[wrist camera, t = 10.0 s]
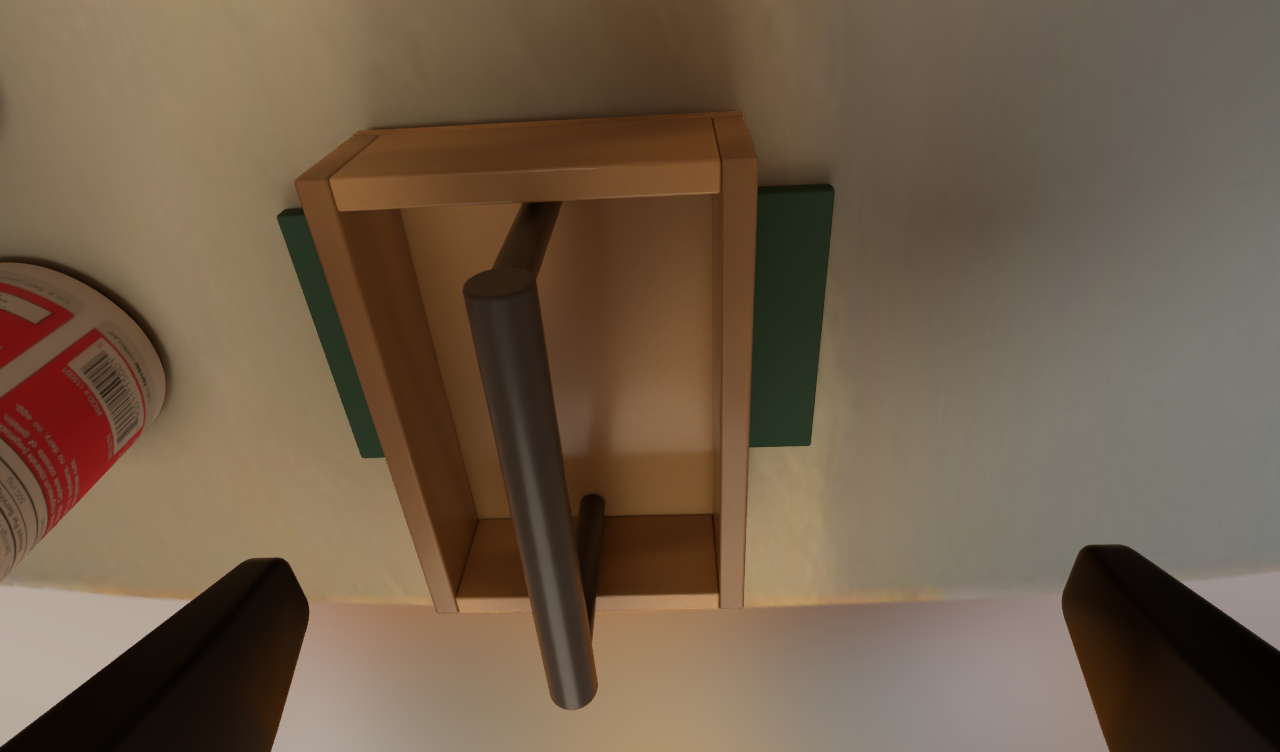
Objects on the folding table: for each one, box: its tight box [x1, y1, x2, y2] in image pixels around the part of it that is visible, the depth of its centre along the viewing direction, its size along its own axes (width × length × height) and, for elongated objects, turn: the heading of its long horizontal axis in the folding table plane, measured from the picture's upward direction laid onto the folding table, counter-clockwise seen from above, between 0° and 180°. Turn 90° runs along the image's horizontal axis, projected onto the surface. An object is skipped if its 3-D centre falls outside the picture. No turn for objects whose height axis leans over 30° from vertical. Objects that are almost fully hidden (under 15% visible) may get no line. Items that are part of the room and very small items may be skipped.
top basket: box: [295, 110, 759, 710], centre depth 17 cm, size 9×13×7 cm
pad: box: [277, 184, 835, 458], centre depth 20 cm, size 14×8×1 cm, turn 93°
